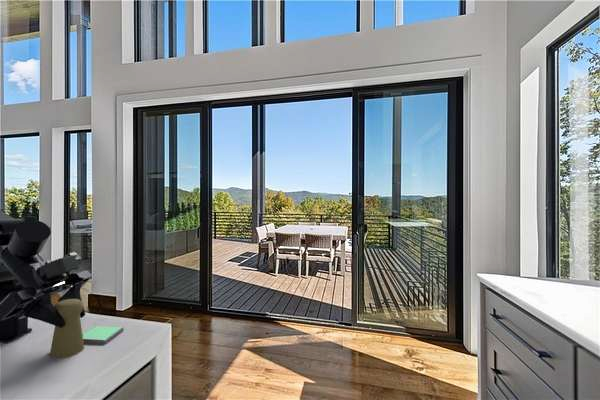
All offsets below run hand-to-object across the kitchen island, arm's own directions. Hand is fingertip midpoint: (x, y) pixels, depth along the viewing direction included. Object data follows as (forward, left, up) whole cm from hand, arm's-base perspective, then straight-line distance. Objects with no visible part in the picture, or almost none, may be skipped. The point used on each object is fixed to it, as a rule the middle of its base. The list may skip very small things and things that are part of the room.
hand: (74, 321), depth 69 cm
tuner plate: (+1, +7, -7) cm, 10 cm away
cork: (-1, 0, -7) cm, 7 cm away
